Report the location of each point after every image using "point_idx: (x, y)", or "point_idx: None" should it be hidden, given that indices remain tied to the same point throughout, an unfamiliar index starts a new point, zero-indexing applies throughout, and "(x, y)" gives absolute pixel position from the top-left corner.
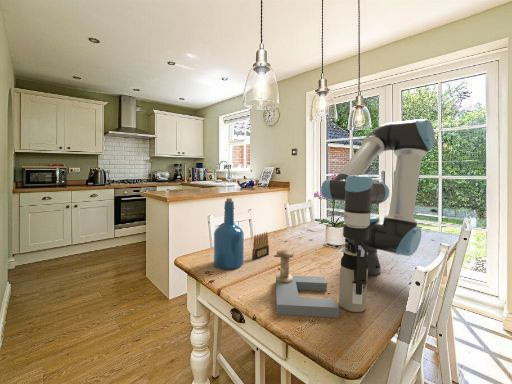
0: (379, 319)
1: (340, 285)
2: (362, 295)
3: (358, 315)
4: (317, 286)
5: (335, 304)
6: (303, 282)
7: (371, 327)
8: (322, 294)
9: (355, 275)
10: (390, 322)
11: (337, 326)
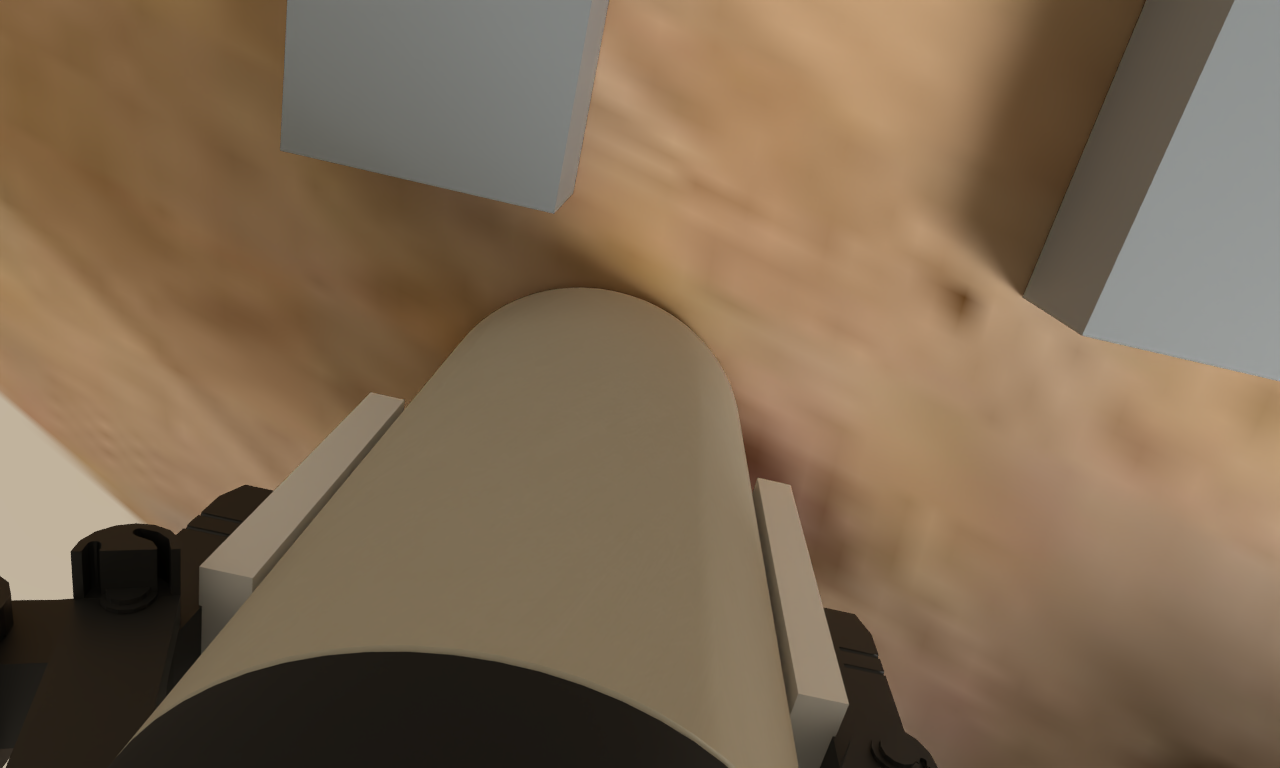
0: None
1: (569, 386)
2: None
3: None
4: (1117, 166)
5: (373, 142)
6: None
7: (175, 407)
8: (951, 193)
9: (40, 698)
10: None
11: (156, 33)
